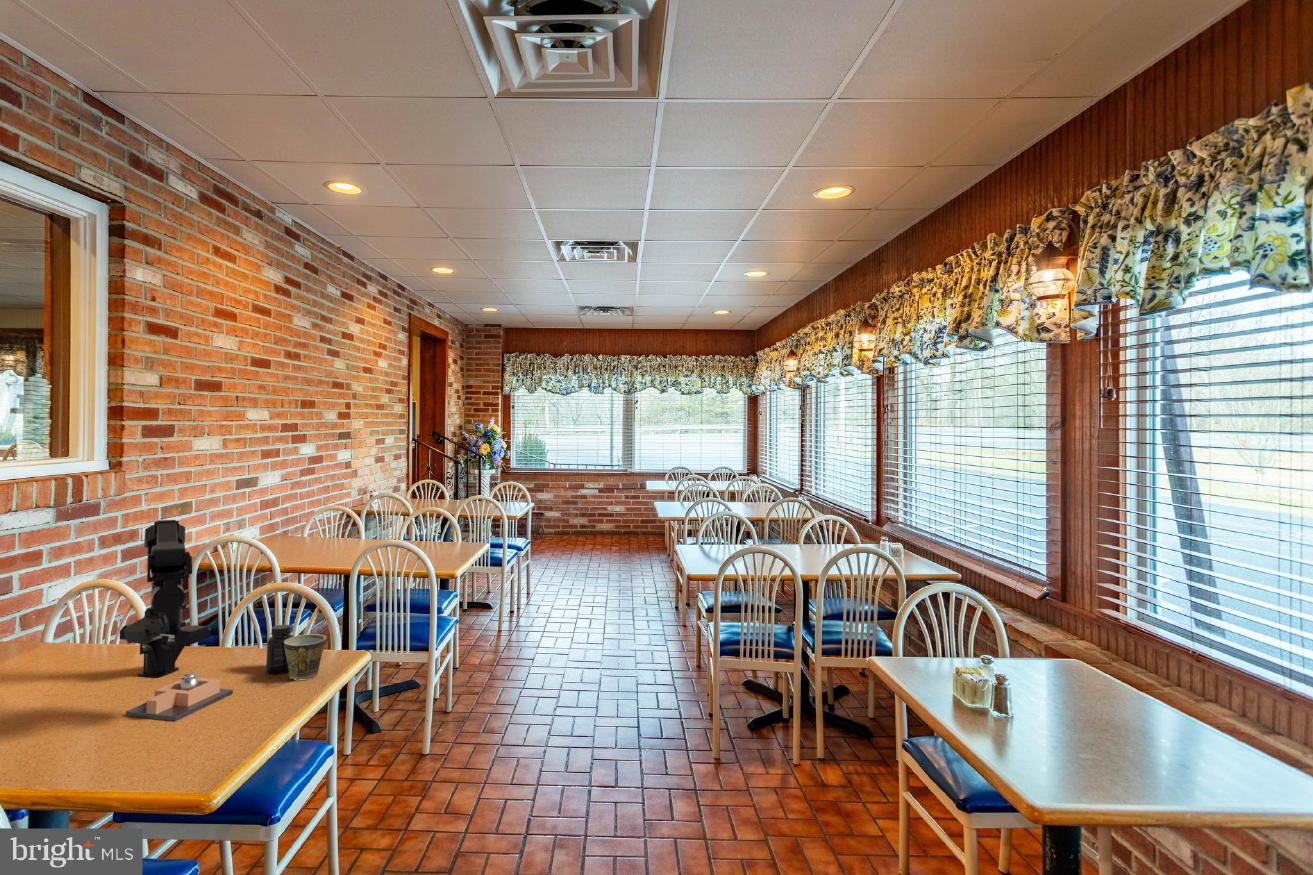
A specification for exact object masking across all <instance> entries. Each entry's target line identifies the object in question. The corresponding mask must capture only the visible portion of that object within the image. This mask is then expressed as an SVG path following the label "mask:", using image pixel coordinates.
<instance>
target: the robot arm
mask: <svg viewBox="0 0 1313 875" xmlns="http://www.w3.org/2000/svg"><path fill="white" fill-rule="evenodd" d="M143 540H144V544H143V546H144V548H146V549H147V553H146V554H147V559H146V560H147V561H146V562H147V563H146V564H147V566H146V571H147V572H146V582H147V583H151V595H150V596H151V599H150V607H149V608H146V609H145V610H144V615H143V617H142V618H140V619H137V620H136V621H135V622H133V623H131V624H127V625H124V626H123V627H122V628H121V629H120V630H119V640H125V641H126V642H127V644H132V643H133V644H138V645H139V655H143V669H142V671H141V672H138V673H137V676H139V677H148V678H149V677H150V678H161V677H163V676H166V675H168V674H171V673H173V672H176V671H179V670H180V667H179V666H176V662H177V661H178V658H179V656H180V655H181V653H182V651H183V650H184V648H185V647H186V646H189V645H193V644H196V643H199V642H202V641H204V640H205V641H206V640H207V639H210V638H211V628H210V627H209V626H207V625H197V624H195V625H190V626H188V627H186V625H187V624H186V622H187V621H184V620H183V621H182V614H183V613H182V611H183V610H185V609H186V610H187V604H186V603H185V600H186V593H185V590H184V587H183V586H184V585H183V584H184V583H183V582H184V581H183V580H185V579H186V580H187V579H190V575H192V574H193V556H192V555H191V553H190V551H186V546H185V543H186V542H185V541H186V527H185V526H184V525H182V524H180V521H179V520H176V519H164V520H163V519H160V520H157V521H154V522H153V524H152V525H150V526H149V527H146V528H145V529H144V539H143ZM183 627H185V628H183Z"/></svg>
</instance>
